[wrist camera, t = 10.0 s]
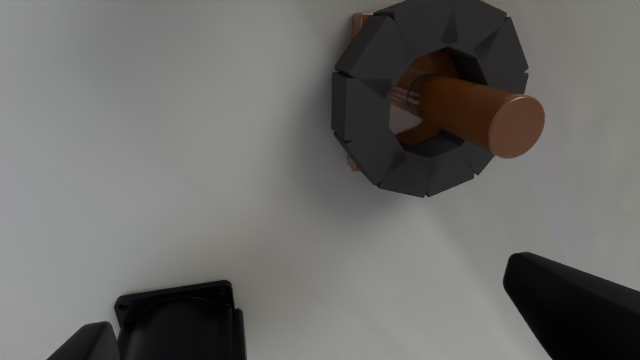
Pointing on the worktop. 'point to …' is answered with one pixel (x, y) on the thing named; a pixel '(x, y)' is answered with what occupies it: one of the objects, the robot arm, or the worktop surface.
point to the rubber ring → (389, 66)
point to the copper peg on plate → (458, 107)
